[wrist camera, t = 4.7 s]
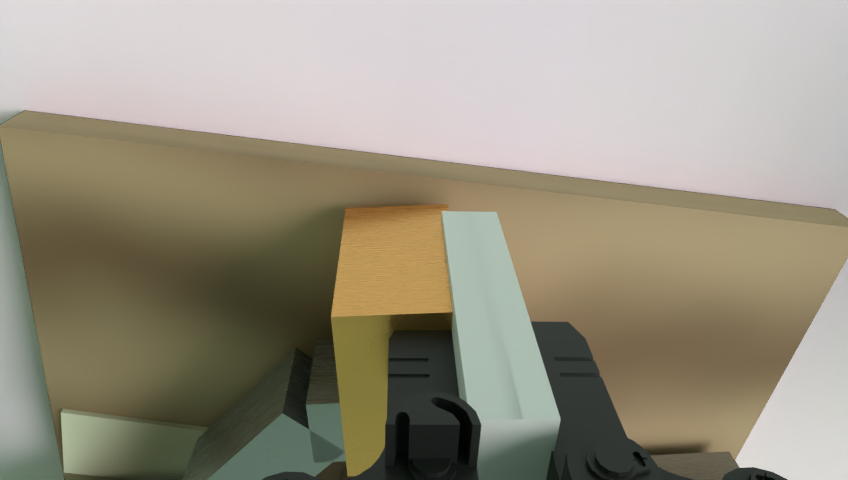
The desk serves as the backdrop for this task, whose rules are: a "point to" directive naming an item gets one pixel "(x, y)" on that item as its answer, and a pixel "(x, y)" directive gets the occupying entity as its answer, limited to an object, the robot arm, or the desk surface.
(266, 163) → the board
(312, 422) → the ring nut
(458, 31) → the desk surface
